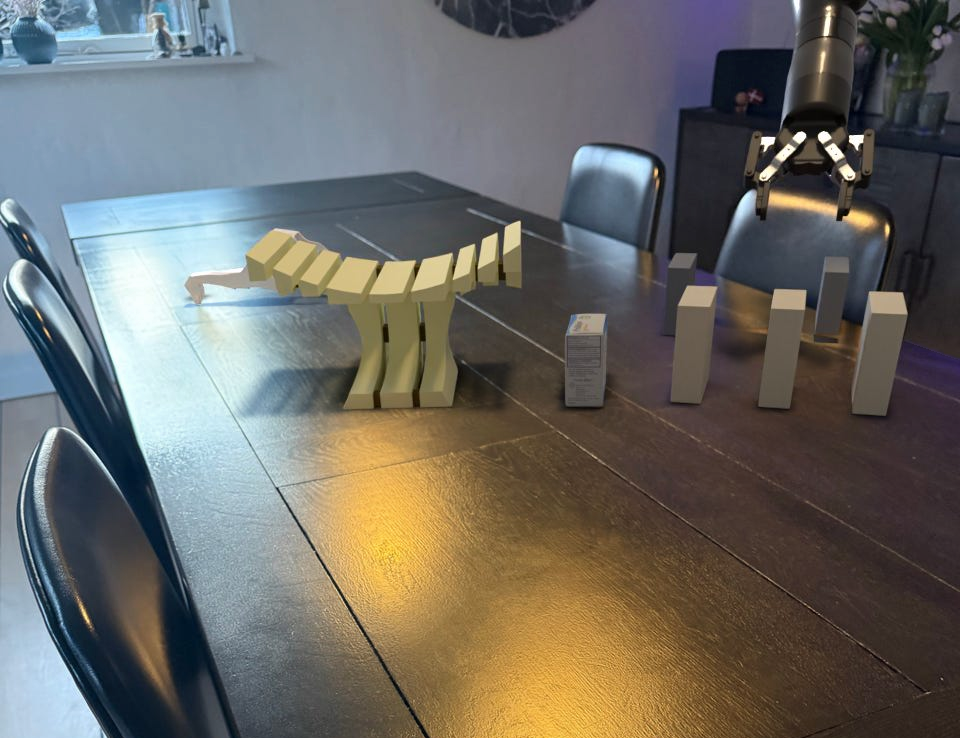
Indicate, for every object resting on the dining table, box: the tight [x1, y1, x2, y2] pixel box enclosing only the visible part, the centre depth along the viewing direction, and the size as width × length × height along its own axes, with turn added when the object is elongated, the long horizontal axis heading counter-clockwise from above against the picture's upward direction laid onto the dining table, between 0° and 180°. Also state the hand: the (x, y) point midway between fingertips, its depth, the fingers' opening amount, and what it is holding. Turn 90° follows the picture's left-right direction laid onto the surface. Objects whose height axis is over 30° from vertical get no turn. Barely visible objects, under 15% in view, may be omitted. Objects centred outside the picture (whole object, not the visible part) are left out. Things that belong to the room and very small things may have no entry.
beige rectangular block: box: [757, 288, 807, 410], centre depth 105 cm, size 4×8×11 cm, turn 163°
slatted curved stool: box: [244, 220, 523, 410], centre depth 112 cm, size 30×16×18 cm, turn 88°
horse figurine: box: [183, 227, 344, 306], centre depth 150 cm, size 5×16×25 cm
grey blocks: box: [662, 252, 850, 344], centre depth 127 cm, size 23×8×9 cm, turn 73°
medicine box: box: [564, 313, 608, 408], centre depth 108 cm, size 8×4×9 cm, turn 171°
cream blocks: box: [670, 285, 909, 417], centre depth 105 cm, size 24×8×11 cm, turn 73°
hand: (801, 216), depth 108 cm, fingers open, 8 cm apart
